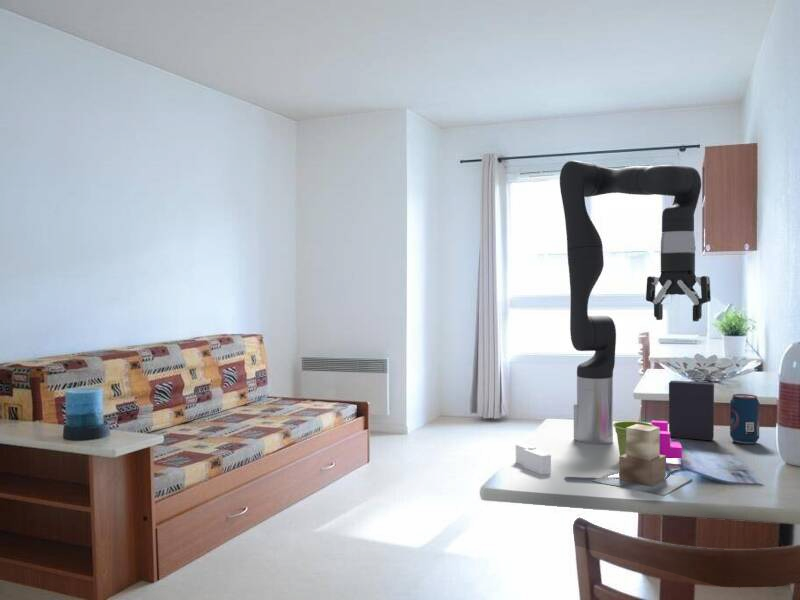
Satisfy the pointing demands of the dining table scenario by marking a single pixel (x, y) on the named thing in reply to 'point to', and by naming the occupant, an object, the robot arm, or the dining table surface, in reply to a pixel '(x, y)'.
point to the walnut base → (653, 490)
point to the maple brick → (642, 441)
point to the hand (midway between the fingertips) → (677, 320)
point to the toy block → (667, 441)
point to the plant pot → (624, 433)
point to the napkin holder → (533, 459)
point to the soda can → (744, 418)
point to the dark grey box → (691, 410)
